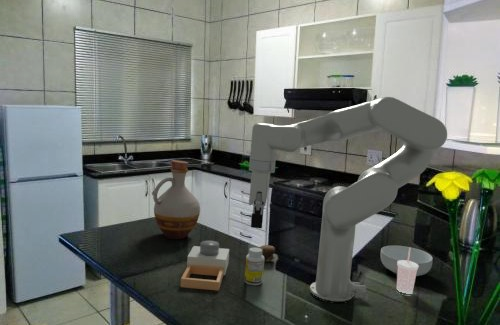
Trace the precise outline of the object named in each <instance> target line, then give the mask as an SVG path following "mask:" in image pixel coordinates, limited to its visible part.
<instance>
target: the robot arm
mask: <svg viewBox="0 0 500 325" xmlns="http://www.w3.org/2000/svg"><path fill="white" fill-rule="evenodd" d="M381 131H384V132H386V133H387V134H390V135H391V136H394V137H396V139H399V140H400V141H403V143H402V144H403V145H402V146H401V147H400V148H399V150H397V152H395V153H394V154H391V155H390V156H389V157H388V158H386V159H384V160H382V161H380V162H379V163H377V164H376V165H374V166H372V167H370V168H368V169H366V170H364V171H363V172H362V173H361V174H360V175H359V176H358V179H357V181H355V182H354V183H352V184H350V185H349V186H347V187H346V186H341V185H340V186H334V187H332V188H330V189H329V190H328V191H327V192H326V193H325V195H324V198H323V201H322V215H321V216H322V217H321V227H320V238H319V244H318V246H319V248H318V257H317V258H318V259H317V266H316V267H317V268H316V276H315V277H316V278H315V282H312V283H311V284H310V286H309V291H310V292H309V293H310V294H311V293H312V294H313V295H312V294H311V295H312V296H314V295H315V296H317V297H319V298H322V299H326V300H330V301H345V300H349V299H351V298H352V297H353V296H354V295H355V292H358V293H366V292H367V286H366V285H362V284H360V282H357V281H352V280H351V273H352V272H351V271H352V263H353V253H354V245H355V237H356V227H357V225H358V224H359V223H361V222H363V221H365V220H368V219H369V218H371V217H372V216H374V215H376V214H378V213H379V212H381V211H383V210H385V209H386V208H388V207H389V206H391V204H392V203H393V202H394V201H395V199H397V198H396V197H397V195H398V190H399V189H400V188H401V187H403V186H405V185H406V184H408V183H409V182H411V181H413V180H414V179H416V178H417V177H420V175H421V174H423V173H424V172H425V170H426V169H427V168H428V167H429V164H430V163H431V161H432V159H433V156H434V153H435V151H436V150H439V149H440V148H442V147H443V146H444V145H445V143H446V140H447V138H448V130H447V127H446V125H445V124H444V123H443V122H442V121H441V120H440V119H438V118H437V117H434V116H433V115H430V114H428V113H426V112H425V111H424V112H423V111H422V110H420V109H417V108H416V107H414V106H411V105H410V104H407V103H406V102H404V101H402V100H400V99H397V98H395V97H393V96H385V97H381V98H376V99H373V100H369V101H366V102H362V103H359V104H356V105H352V106H348V107H344V108H340V109H336V110H334V111H330V112H329V113H327V114H324V115H322V116H318V117H316V118H315V117H314V118H312V119H307V120H305V121H301V122H297V123H293V124H289V125H275V124H273V123H263V122H262V123H261V122H257V123H254V125H252V130H251V143H250V154H249V166H248V171H251V177H250V187H249V188H250V189H249V197H248V198H249V199H248V205H249V206H252V205H253V208H252V213H251V220H250V228H254V229H263V222H264V220H263V218H264V208H265V206H266V205H267V200H268V195H269V188H270V179H271V174H274V173H275V172H276V171H275V170H276V160H277V151H281V152H285V153H295V152H298V151H299V150H300V149H301V148H305V147H310V146H313V145H316V144H321V143H326V142H327V143H328V142H339V141H341V142H342V141H345V140H349V139H353V138H357V137H360V136H365V135H369V134H374V133H376V132H381ZM315 296H314V297H315ZM317 297H316V298H317ZM354 297H355V296H354ZM354 297H353V298H354Z"/></svg>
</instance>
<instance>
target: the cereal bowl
mask: <svg viewBox="0 0 500 325" xmlns="http://www.w3.org/2000/svg"><path fill="white" fill-rule="evenodd" d="M409 247H410V246H405V245H404V246H403V245H386V246H383V247H381V249H380V261H381V263H382V264H383V266H384V267H385V268H386V269H388V270H389V271H391V272H392V273H393V274H395V275H397V272H398V265H397V261H399V260H408V252H409ZM410 248H411V250H410V258H409V261H412V262H414V263H417V264H418V265H419V267H418V269H417V273H416V277H419V276H423V275H426V274H427V273H428V272H430V271H431V269H432V266H433V262H434V261H433V260H434V259H433V256H432V255H431V254H430V253H428V252H427V251H424V250H422V249H418V248H414V247H410Z"/></svg>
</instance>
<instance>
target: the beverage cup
mask: <svg viewBox="0 0 500 325" xmlns="http://www.w3.org/2000/svg"><path fill="white" fill-rule="evenodd" d="M408 247H409V252H408V260H399V261H397V265H398V272H397V274H396V289H397V290H398V291H399V292H402V293H406V294H412V295H413V293H414V286H415V283H416V277H417V276H416V273H417V269H418V267H419V265H418V264H417V263H414V262H412V261H409V258H410V250H411V248H412V247H411V248H410V246H408Z"/></svg>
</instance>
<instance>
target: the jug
mask: <svg viewBox="0 0 500 325" xmlns="http://www.w3.org/2000/svg"><path fill="white" fill-rule="evenodd" d="M170 164H171V167H170V171H171V176H172V177H165V178H163V179H162V180H160V181H159V182H158V184H157V185H156V186H155V188H154V189H153V195H152V199H153V202H154V207H153V213H154V219H155V222H156V225H157V227H158V229H160V231H161V232H162V234H163V235H164V236H165V237H166V238H167V239H171V240H182V239H185V238H186V237H187V236H188V235H189V234H190V233H191V232H192V231H193V230H194V228H195V227H196V225H197V223H198V221H199V218H200V213H201V206H200V202H199V200H198V198H197V197H196V196H195V195H194V194H193V193H192V192H191V191H190V190H189V189H188V188H187V187H186V183H185V180H186V177H187V172H188V171H189V170H188V166H189V162H188V161H184V160H179V159H177V160H176V159H175V160H174V159H173V160H172V159H171V160H170ZM167 182H171V186H170V187H169V188H168V189H166V190H165V191H164V192H163V193H162V194H161V195H160V196H158V194H159V190H160V189H161V188H162V186H163V185H164V184H166V183H167Z"/></svg>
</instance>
